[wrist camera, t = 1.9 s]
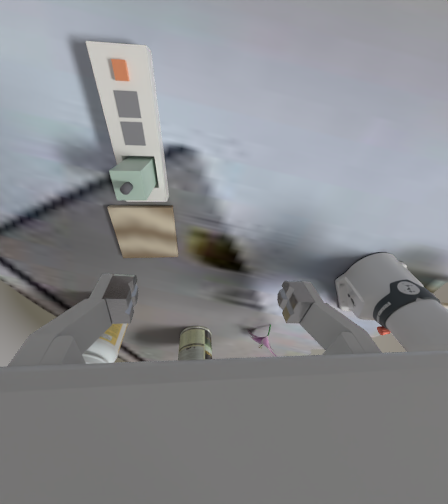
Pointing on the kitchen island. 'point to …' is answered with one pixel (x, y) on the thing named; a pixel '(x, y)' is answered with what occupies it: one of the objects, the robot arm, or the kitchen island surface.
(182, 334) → the coffee can
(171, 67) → the kitchen island surface
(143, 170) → the grey-green tall block
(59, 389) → the robot arm
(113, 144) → the power strip
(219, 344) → the kitchen island surface
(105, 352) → the supplement tub
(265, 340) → the lily
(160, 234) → the coaster
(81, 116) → the kitchen island surface
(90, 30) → the kitchen island surface
